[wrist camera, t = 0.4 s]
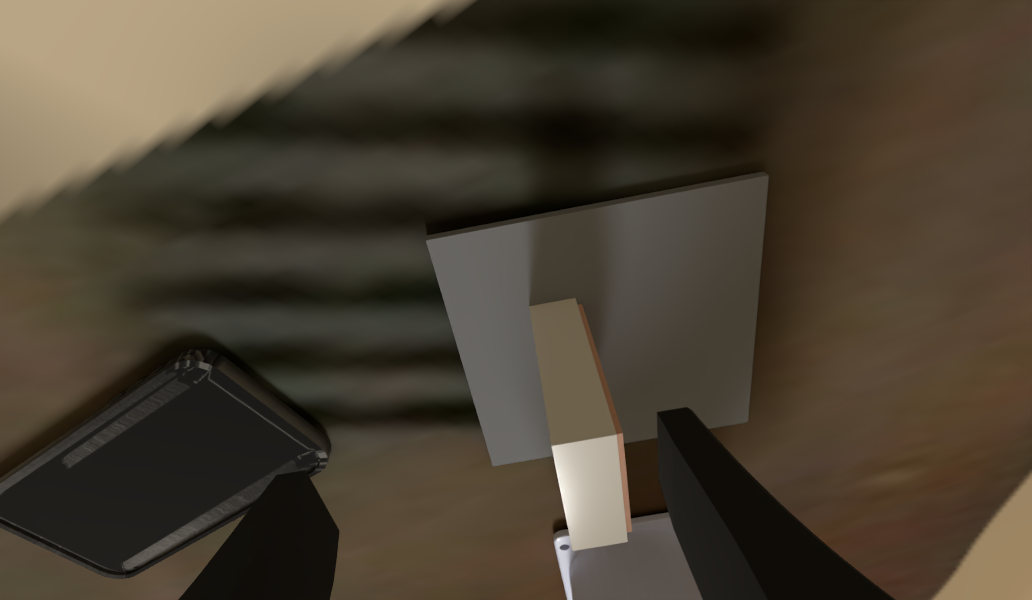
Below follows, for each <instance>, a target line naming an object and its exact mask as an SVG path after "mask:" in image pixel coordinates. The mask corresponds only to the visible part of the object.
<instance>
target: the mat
mask: <svg viewBox="0 0 1032 600" xmlns="http://www.w3.org/2000/svg"><path fill="white" fill-rule="evenodd" d="M768 180H769V175H768V174H766V173H765V172H764V171H763V172H758V173H752V174H747V175H742V176H737V177H731V178H726V179H721V180H716V181H710V182H705V183H700V184H695V185H689V186H684V187H679V188H674V189H668V190H663V191H658V192H653V193H647V194H642V195H637V196H632V197H626V198H621V199H616V200H611V201H605V202H600V203H595V204H590V205H584V206H579V207H574V208H569V209H563V210H558V211H553V212H548V213H542V214H537V215H532V216H527V217H521V218H516V219H511V220H506V221H500V222H495V223H490V224H485V225H479V226H474V227H469V228H464V229H458V230H453V231H448V232H443V233H437V234H432V235H427V237H426V243H427V246H428V249H429V253H430V256H431V259H432V263H433V266H434V269H435V273H436V276H437V280H438V283H439V286H440V290H441V293H442V296H443V300H444V303H445V306H446V310H447V313H448V317H449V320H450V323H451V327H452V330H453V333H454V337H455V340H456V343H457V347H458V350H459V354H460V357H461V360H462V364H463V367H464V370H465V374H466V377H467V380H468V384H469V387H470V391H471V394H472V397H473V401H474V404H475V407H476V411H477V414H478V417H479V421H480V424H481V428H482V431H483V434H484V438H485V441H486V444H487V448H488V451H489V454H490V458H491V461H492V465H493V466H498V465H504V464H509V463H515V462H521V461H527V460H532V459H538V458H544V457H550V456H553V451H552V446H551V440H550V434H549V428H548V422H547V415H546V409H545V403H544V397H543V390H542V384H541V378H540V372H539V366H538V359H537V353H536V347H535V341H534V334H533V328H532V322H531V316H530V309H529V306H534V305H539V304H545V303H550V302H555V301H561V300H566V299H572V298H576V301H577V305H579V304H582V305H583V309H584V312H585V315H586V318H587V321H588V325H589V328H590V331H591V334H592V337H593V340H594V344H595V347H596V350H597V353H598V356H599V359H600V363H601V366H602V369H603V372H604V375H605V378H606V382H607V385H608V388H609V391H610V394H611V397H612V401H613V404H614V407H615V410H616V413H617V416H618V420H619V423H620V426H621V429H622V432H623V441H624V444H625V443H630V442H636V441H642V440H648V439H654V438H657V412H660V411H666V410H672V409H678V408H684V407H688V408H690V409H691V410H693V412H694V413H695V414H696V415H697V416H698V418H699V419H700V420H701V421H702V422H703V424H704V425H705V426H706V427H707V428H708V429H711V428H717V427H723V426H729V425H734V424H740V423H746V422H748V416H749V404H750V392H751V380H752V368H753V357H754V345H755V333H756V321H757V310H758V298H759V286H760V274H761V263H762V251H763V239H764V227H765V215H766V204H767V192H768Z"/></svg>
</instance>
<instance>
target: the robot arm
mask: <svg viewBox="0 0 1032 600" xmlns="http://www.w3.org/2000/svg"><path fill="white" fill-rule="evenodd" d="M657 438H658V470H659V482H660V485H661V489H662V492H663V496H664V499H665V502H666V506H667V509H668V512H667V513H661V514H655V515H649V516H643V517H637V518H631V525H632V532H627V539H628V542H625V543H619V544H613V545H607V546H601V547H594V548H588V549H582V550H576V551H573V550H572V545H571V540H570V535H569V531H568V529H565V530H560V531H558V532H556V533H555V534H554V535H553V539H554V545H555V549H556V554H557V558H558V562H559V567H560V571H561V575H562V580H563V584H564V588H565V592H566V597H567V600H895V599H894V598H892V597H891V596H890V595H888V594H887V593H886V592H885V591H883V590H882V589H881V588H879V587H878V586H877V585H875V584H874V583H873V582H871V581H870V580H869V579H868V578H866V577H865V576H864V575H863V574H861V573H860V572H859V571H858V570H856V569H855V568H854V567H853V566H851V565H850V564H849V563H848V562H846V561H845V560H844V559H843V558H841V557H840V556H839V555H838V554H837V553H836V552H834V551H833V550H832V549H831V548H830V547H828V546H827V545H826V544H825V543H824V542H823V541H821V540H820V539H819V538H818V537H817V536H816V535H814V534H813V533H812V532H811V531H810V530H809V529H808V528H807V527H806V526H804V525H803V524H802V523H801V522H800V521H799V520H798V519H797V518H795V517H794V516H793V515H792V514H791V513H790V512H789V511H788V510H787V509H786V508H785V507H784V506H782V505H781V504H780V503H779V502H778V501H777V500H776V499H775V498H774V497H773V496H772V495H771V494H770V493H769V492H768V491H767V490H766V489H765V488H764V487H763V486H762V485H761V484H760V483H759V482H758V481H757V480H756V479H755V478H754V477H753V476H752V475H751V474H750V473H749V472H748V471H747V470H746V469H745V468H744V467H743V466H742V465H741V464H740V463H739V462H738V461H737V460H736V459H735V458H734V457H733V456H732V455H731V454H730V452H729V451H728V450H727V449H726V448H725V447H724V446H723V445H722V444H721V443H720V442H719V441H718V439H717V438H716V437H715V436H714V435H713V434H712V433H711V432H710V430H709V429H708V428H707V427H706V426H705V425H704V424H703V422H702V421H701V420H700V419H699V418H698V416H697V415H696V414H695V413H694V412H693V410H691V409H690V408H688V407H684V408H678V409H672V410H666V411H660V412H657ZM338 540H339V529H338V528H337V526H336V524H335V522H334V520H333V519H332V517H331V515H330V513H329V511H328V510H327V508H326V506H325V504H324V502H323V501H322V499H321V497H320V495H319V493H318V492H317V490H316V488H315V486H314V485H313V483H312V481H311V479H310V477H309V476H308V474H307V472H306V470H303V471H297V472H291V473H285V474H279V475H276V476H275V477H274V479H273V480H272V481H271V482H270V484H269V485H268V486H267V487H266V489H265V490H264V491H263V493H262V494H261V495H260V497H259V498H258V499H257V501H256V502H255V503H254V504H253V506H252V507H251V508H250V510H249V511H248V512H247V514H246V515H245V516H244V518H243V519H242V520H241V522H240V523H239V524H238V526H237V527H236V528H235V529H234V531H233V532H232V533H231V535H230V536H229V537H228V539H227V540H226V541H225V542H224V544H223V545H222V546H221V548H220V549H219V550H218V551H217V553H216V554H215V555H214V556H213V558H212V559H211V560H210V562H209V563H208V564H207V565H206V567H205V568H204V569H203V571H202V572H201V573H200V574H199V576H198V577H197V578H196V579H195V581H194V582H193V583H192V584H191V585H190V587H189V588H188V589H187V590H186V591H185V593H184V594H183V595H182V596H181V597H180V599H179V600H330V596H331V591H332V587H333V582H334V574H335V567H336V559H337V550H338Z"/></svg>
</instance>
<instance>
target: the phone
mask: <svg viewBox="0 0 1032 600" xmlns="http://www.w3.org/2000/svg"><path fill="white" fill-rule="evenodd" d="M330 453H331V444H330V441H329V439H328V438H327V437H326V436H325V435H324V434H323V433H321V432H320V431H319V430H318V429H316V428H315V427H314V426H312V425H311V424H310V423H309V422H307V421H306V420H305V419H304V418H302V417H301V416H300V415H298V414H297V413H296V412H295V411H293V410H292V409H291V408H290V407H288V406H287V405H286V404H284V403H283V402H282V401H281V400H279V399H278V398H277V397H276V396H274V395H273V394H272V393H270V392H269V391H268V390H267V389H265V388H264V387H263V386H262V385H260V384H259V383H258V382H256V381H255V380H254V379H253V378H251V377H250V376H249V375H248V374H246V373H245V372H244V371H242V370H241V369H240V368H239V367H237V366H236V365H235V364H234V363H232V362H231V361H230V360H228V359H227V358H226V357H224V356H223V355H221V354H219V353H218V352H215V351H212V350H209V349H201V348H195V349H189V350H186V351H184V352H182V353H180V354H179V355H177V356H176V357H175V358H173V359H172V360H170V361H169V362H167V363H166V364H163V365H161V366H160V367H158V368H157V369H155V370H154V371H153V372H152V373H151V374H150V375H149V376H147V377H146V378H144V377H143V378H142V379H140V380H139V381H137V382H136V383H135V384H133V385H132V386H130V387H129V388H128V389H127V390H126V391H125V392H124V391H122V392H121V393H119V394H118V395H116V396H115V397H114V398H112V399H111V400H110V401H109V402H108V404H107V405H105V406H104V407H102V408H101V409H99V410H98V411H96V412H95V413H93V414H92V415H91V416H89V417H88V418H86V419H85V420H83V421H82V422H80V423H79V424H78V425H76V426H75V427H73V428H72V429H70V430H69V431H67V432H66V433H65V434H63V435H62V436H60V437H59V438H57V439H56V440H54V441H53V442H51V443H50V444H49V445H47V446H46V447H44V448H43V449H41V450H40V451H38V452H37V453H36V454H34V455H33V456H31V457H30V458H28V459H27V460H25V461H24V462H23V463H21V464H20V465H18V466H17V467H15V468H14V469H12V470H11V471H9V472H8V473H7V474H5V475H4V476H2V477H1V478H0V528H2V529H4V530H7V531H9V532H11V533H13V534H15V535H17V536H19V537H21V538H23V539H26V540H28V541H30V542H32V543H34V544H36V545H38V546H40V547H42V548H45V549H47V550H49V551H51V552H53V553H55V554H57V555H59V556H62V557H64V558H66V559H68V560H70V561H72V562H74V563H76V564H78V565H81V566H83V567H85V568H87V569H89V570H91V571H93V572H95V573H97V574H100V575H102V576H105V577H109V578H114V579H125V578H130V577H133V576H135V575H137V574H139V573H141V572H142V571H144V570H146V569H148V568H150V567H151V566H153V565H155V564H157V563H159V562H160V561H162V560H164V559H166V558H167V557H169V556H171V555H173V554H175V553H176V552H178V551H180V550H182V549H184V548H185V547H187V546H189V545H191V544H192V543H194V542H196V541H198V540H200V539H201V538H203V537H205V536H207V535H209V534H210V533H212V532H214V531H216V530H217V529H219V528H221V527H223V526H225V525H226V524H228V523H230V522H232V521H234V520H235V519H237V518H239V517H241V516H242V515H244V514H246V513H247V512H248V511H249V510H250V508H251V507H252V506H253V504H254V503H255V502H256V501H257V499H258V498H259V497H260V495H261V494H262V493H263V491H264V490H265V489H266V487H267V486H268V485H269V484H270V482H271V481H272V480H273V479H274V477H275V476H276V475H279V474H285V473H291V472H297V471H303V470H306V472H307V474H308V476H309V477H312V476H314V475H316V474H317V473H319V472H321V471H322V470H323V469H324V468H325V467H326V465H327V463H328V460H329V456H330Z"/></svg>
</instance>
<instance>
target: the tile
mask: <svg viewBox="0 0 1032 600" xmlns="http://www.w3.org/2000/svg"><path fill="white" fill-rule="evenodd" d="M529 309H530V316H531V322H532V328H533V334H534V341H535V347H536V353H537V359H538V366H539V372H540V378H541V384H542V390H543V397H544V403H545V409H546V415H547V422H548V428H549V434H550V440H551V446H552V451H553V456H554V461H555V466H556V471H557V476H558V481H559V486H560V491H561V496H562V501H563V506H564V511H565V516H566V521H567V526H568V531H569V535H570V540H571V545H572V550H573V551H576V550H582V549H588V548H594V547H601V546H607V545H613V544H619V543H625V542H628V539H627V532H632V525H631V515H630V504H629V494H628V483H627V473H626V462H625V452H624V441H623V432H622V429H621V426H620V423H619V420H618V416H617V413H616V410H615V407H614V404H613V401H612V397H611V394H610V391H609V388H608V385H607V382H606V378H605V375H604V372H603V369H602V366H601V363H600V359H599V356H598V353H597V350H596V347H595V344H594V340H593V337H592V334H591V331H590V328H589V325H588V321H587V318H586V315H585V312H584V309H583V305H582V304H579V305H577V301H576V298H572V299H566V300H561V301H555V302H550V303H545V304H539V305H534V306H529Z"/></svg>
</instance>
